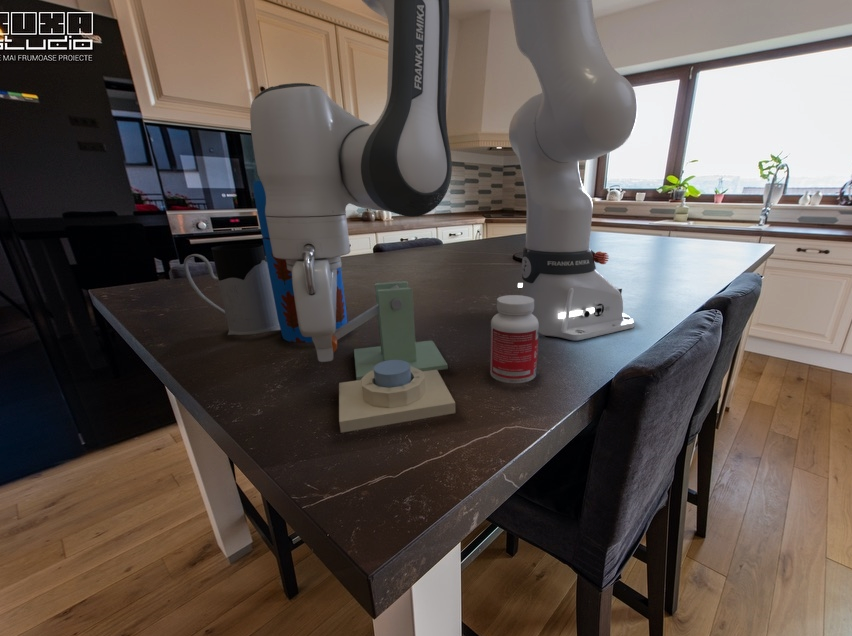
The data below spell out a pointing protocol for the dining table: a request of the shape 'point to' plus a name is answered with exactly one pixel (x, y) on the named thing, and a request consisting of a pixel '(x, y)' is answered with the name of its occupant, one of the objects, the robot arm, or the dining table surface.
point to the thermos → (289, 282)
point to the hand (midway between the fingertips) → (327, 346)
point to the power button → (392, 373)
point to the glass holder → (242, 288)
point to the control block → (392, 401)
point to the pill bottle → (514, 340)
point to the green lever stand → (397, 334)
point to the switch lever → (354, 323)
